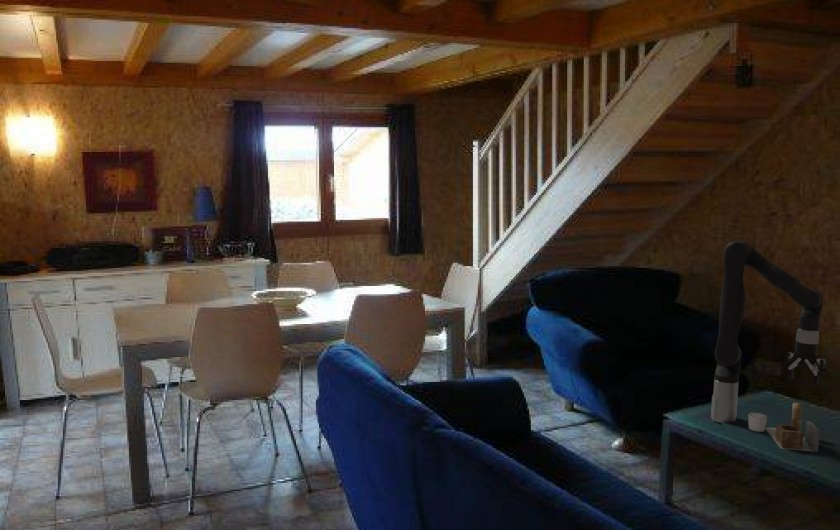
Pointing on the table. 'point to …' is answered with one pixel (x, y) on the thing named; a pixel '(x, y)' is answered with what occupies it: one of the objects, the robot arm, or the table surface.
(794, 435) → the wooden open box
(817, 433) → the wall
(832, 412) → the table surface
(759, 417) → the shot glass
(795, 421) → the dowel
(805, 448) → the board
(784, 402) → the table surface
